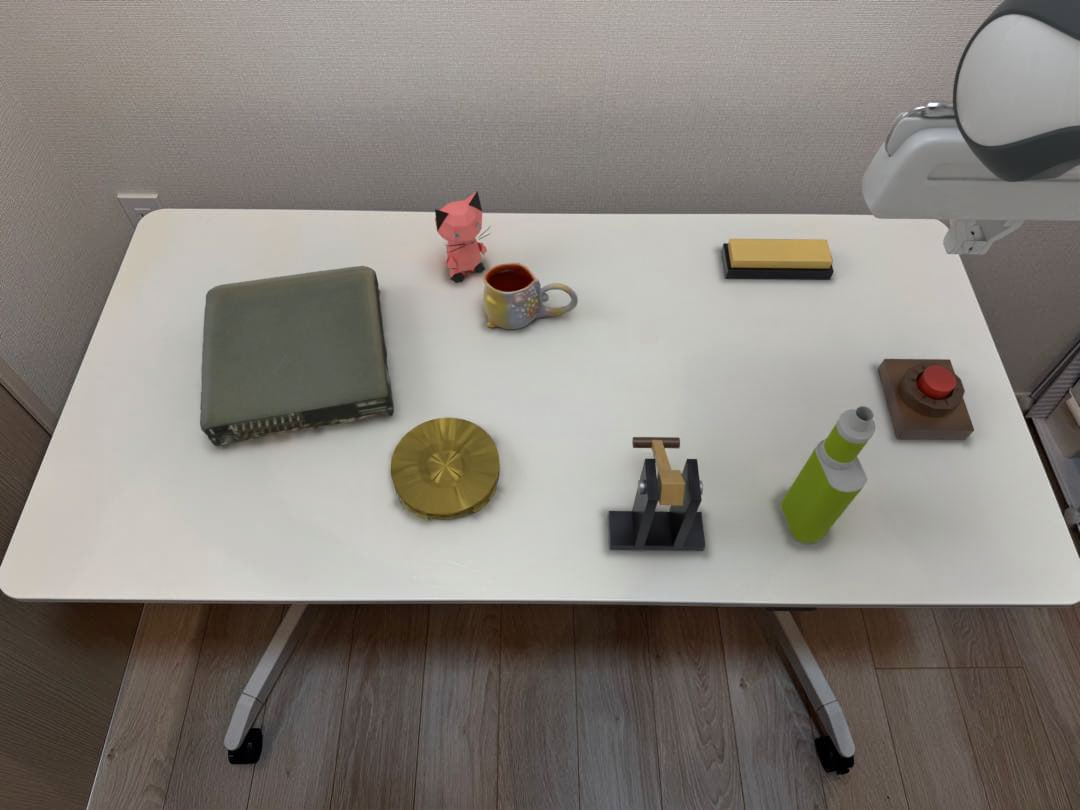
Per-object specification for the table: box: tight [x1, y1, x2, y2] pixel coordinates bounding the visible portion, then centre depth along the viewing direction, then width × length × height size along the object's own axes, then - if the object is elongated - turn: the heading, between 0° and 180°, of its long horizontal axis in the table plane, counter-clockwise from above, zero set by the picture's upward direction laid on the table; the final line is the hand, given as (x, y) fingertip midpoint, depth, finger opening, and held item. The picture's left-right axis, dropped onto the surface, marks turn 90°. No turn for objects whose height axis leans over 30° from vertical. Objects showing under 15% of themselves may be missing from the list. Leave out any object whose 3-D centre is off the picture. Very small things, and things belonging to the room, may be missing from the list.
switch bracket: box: [607, 457, 706, 552], centre depth 77 cm, size 4×10×13 cm, turn 89°
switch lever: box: [631, 436, 685, 506], centre depth 78 cm, size 12×5×2 cm
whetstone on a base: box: [720, 238, 835, 281], centre depth 102 cm, size 5×14×3 cm, turn 90°
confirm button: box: [918, 366, 956, 399], centre depth 88 cm, size 4×4×2 cm
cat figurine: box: [434, 190, 491, 284], centre depth 98 cm, size 7×7×12 cm
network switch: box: [199, 265, 395, 447], centre depth 92 cm, size 23×24×5 cm
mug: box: [482, 262, 579, 330], centre depth 96 cm, size 12×7×7 cm, turn 80°
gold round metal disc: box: [389, 417, 501, 521], centre depth 85 cm, size 12×12×2 cm
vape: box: [780, 405, 876, 545], centre depth 75 cm, size 4×6×20 cm, turn 11°
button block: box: [877, 358, 975, 441], centre depth 90 cm, size 10×8×4 cm
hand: (962, 248), depth 63 cm, fingers closed
